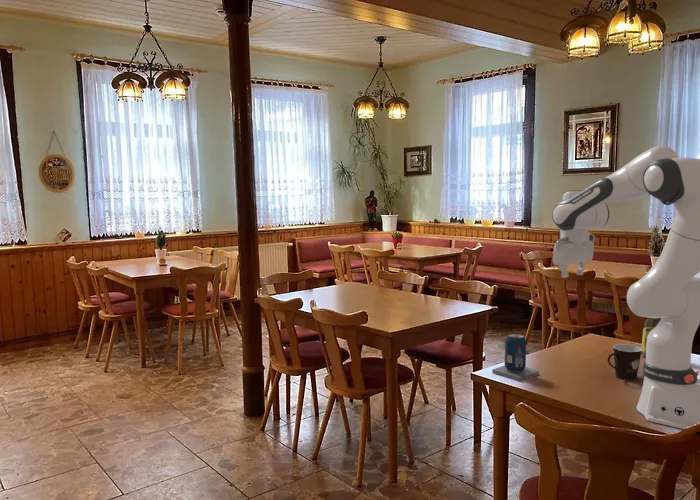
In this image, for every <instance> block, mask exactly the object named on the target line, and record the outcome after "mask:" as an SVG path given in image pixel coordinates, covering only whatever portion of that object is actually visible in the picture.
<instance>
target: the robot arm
mask: <svg viewBox="0 0 700 500" xmlns="http://www.w3.org/2000/svg"><path fill="white" fill-rule="evenodd" d="M649 195H650V196H651V197H653V198H655V199H658V200H659V201H660V202H661V203H662V204H663V205H665V206H670V205H674V208H675V215H674V218H673V221H672V223H671V226H670V230H669V232H668V234H667V238H666V242H665V243H664V246H663V249H662V252H661V253H660V255H659V257H658V258H657V260H656V261H655V263H654V264H653V265H652V266H651V268H650V269H649V270H648V271H647V272H646V274H644V276H642V277H641V278H640V279H639V280H637V281H636V282H634V283H632V284H630V286H629V288H628V289H627V292H626V303H627V306H628V309H629V310H630V311H631V313H633V314H634V315H635V316H637V317H642V318H646V319H647V318H660V322H659V323H658V325H657V326H656V327H655V328H654V329H653V330H651V331H650V333H649V334H648V336H647V344H646V358H645V360H644V361H643V367H642V379H643V383H642V389H641V392H640V396H639V400H638V401H637V405H636V410H637V411H638V412H639V413H641V415H643V416H644V417H645V419H646V421H649V422H651V423H656V424H661V425H664V426H669V427H673V428H676V429H677V428H678V429H682V430H685V428H687V427H689V426H692V425H694V424H696V423H698V422H700V383H699V382H698V376H699V375H700V371H699V370H697V371H695V370H694V369H693V368H692V367H691V358H692V351H693V350H692V349H693V348H692V347H693V341H694V337H695V334H696V332H697V329H698V328H699V326H700V277H698V276H696V275H697V274H699V273H700V158H693V157H692V158H691V157H679V155H678V154H677V152H676V151H675V150H673V148H671V147H669V146H665V145H656V146H654V147H651V148H650V149H649V148H648V149H647V150H645V151H644V152H642V153H641V154H639V155H637V156H635V157H633V159H632V160H630V161H629V162H628V163H627V164H625V165H623V166H622V167H621V168H619V169H617V170H616V171H614V172H612V173H611V174H609V175H607V176H605V177H603V178H601V179H600V180H598V181H596V182H594V183H593V184H591V185H589V186H588V187H586V188H584V189H575V190H568V191H566V192H565V193H564V194H563V195H562V199H561V200H559V202H557V204H556V205H555V206H554V208H553V209H552V215H551V218H552V221H553V223H554V224H555V225H556V227H557V228H558V229H560V230H559V231H560V233H559V235H560V236H559V238H558V239H557V241H556V242H555V244H554V247H553V253H552V263H553V265H554V266H559V269H560V271H561V278H569V276H570V275H569V271H568V269H567V268H568V265H574V264H577V265H578V268H577V269H576V275H577V276H583V275H584V269H585V268H586V264H587V262H588V263H589V262H592V260H593V259H594V248H595V247H594V245H595V244H594V241H595V239H596V237H595V235H594V234H592V233H591V232H589V231H588V230H593V229H594V230H595V229H596V230H597V229H601V228H602V229H603V228H604V227H605V226H606V225H607V224H608V222H609V219H610V209H609V206H608V205H607V203H615V202H616V203H617V202H630V201H631V202H632V201H636V200H640V199H643V198H645V197H647V196H649Z"/></svg>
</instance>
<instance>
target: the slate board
mask: <svg viewBox="0 0 700 500" xmlns="http://www.w3.org/2000/svg"><path fill="white" fill-rule="evenodd" d="M539 371H540V370H538V369H534V368H530V367H527V366H526V367H525V369H524V370H523V371H522V372H512V371H509V370H507V369H506V367H505V364H504V365H502V366H498V367H496V368H493V369H492V372H491V373H492V374H493V375H498V376H501V377H504V378H507V379H509V380H510V379H511V380H514V381H517V382H521V381H525V380H528V379H529V378H532V377H535V376H537V375H539V373H540V372H539Z"/></svg>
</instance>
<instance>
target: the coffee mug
mask: <svg viewBox="0 0 700 500" xmlns="http://www.w3.org/2000/svg"><path fill="white" fill-rule="evenodd" d="M612 348H613V353H609V356H608V357H607V363H608V365H609V366H610V367H611V368H612V369H614V373H615V377H616V378H617V379H620V380H625V381H636V380H637V378H638V372H639V368H640V362H641V356H642V355H641V354H642V347H639V346H636V345H633V344H623V343H622V344H619V343H618V344H615V345H613V347H612ZM611 357H613V358H614V359H613V360H614V361H613V362H614V365H613V364H612V363H611Z"/></svg>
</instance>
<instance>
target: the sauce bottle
mask: <svg viewBox="0 0 700 500" xmlns="http://www.w3.org/2000/svg"><path fill="white" fill-rule="evenodd" d="M660 320H661V318H646V319H645V320H644V322H643V323H644V324H643V329H642V337H641V338H642V339H641V349H642V352H641V356H642V357H643V358H645V359H646V344H647V336H648V334H649V333H650V331H651V330H653V329H654V328H655V327H656V326H657V325H658V323H659V322H660Z"/></svg>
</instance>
